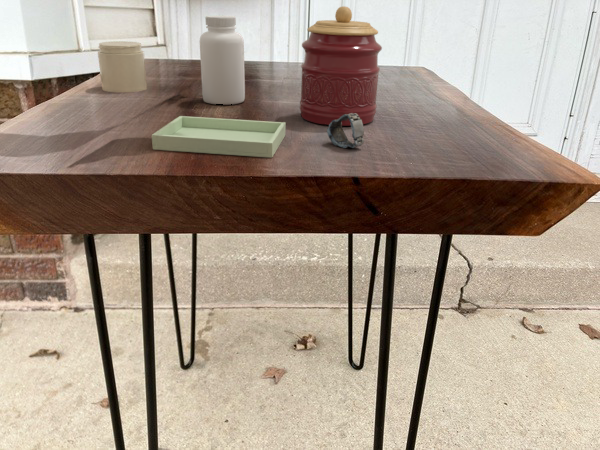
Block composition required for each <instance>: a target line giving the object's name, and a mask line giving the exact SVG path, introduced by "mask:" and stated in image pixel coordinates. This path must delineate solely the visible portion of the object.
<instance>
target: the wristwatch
mask: <svg viewBox="0 0 600 450" xmlns="http://www.w3.org/2000/svg"><path fill="white" fill-rule="evenodd" d="M347 119H349V121H350V122H351V126H350V127H351V133H352V134H351V136H352V139H353V142H351V141H350V140H349V138H348V136H347V135H346V133H345V131H344V129H343V126H342V122H341V121H343V120H345V121H347ZM326 133H327V136H328V139H329V140H330V142H331V143H332V144H333V145H334V146H338V147H340V148H343V149H347V148H351V149H354V148H358V147H361V146H362V145H363V144H364V143H365V139H364V136H365V128H364V124H363V123H362V120H361V119H360V117H359V116H358V114H356V113H354V114H353V113H351V114H344V115H343V116H341V117H340V118H339V119H337V120H333V121H332V122H331V123H330V124H329V125H328V127H327V130H326Z"/></svg>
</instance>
